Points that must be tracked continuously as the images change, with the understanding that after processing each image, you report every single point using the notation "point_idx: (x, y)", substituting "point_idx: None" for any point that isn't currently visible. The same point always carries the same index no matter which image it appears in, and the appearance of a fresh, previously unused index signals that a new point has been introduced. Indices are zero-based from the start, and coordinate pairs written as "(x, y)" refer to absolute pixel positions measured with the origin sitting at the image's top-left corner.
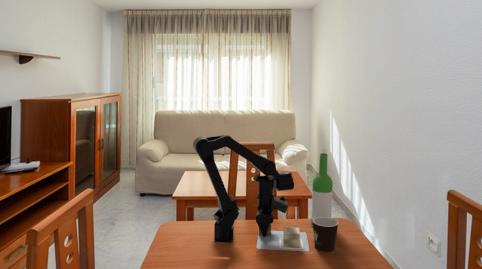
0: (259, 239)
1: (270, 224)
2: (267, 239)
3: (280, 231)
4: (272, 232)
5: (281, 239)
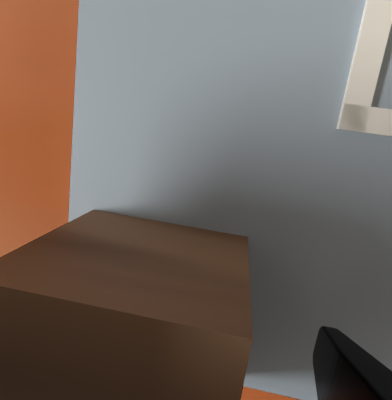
0: None
1: (241, 352)
2: (350, 296)
3: (89, 78)
4: (126, 196)
5: (376, 101)
